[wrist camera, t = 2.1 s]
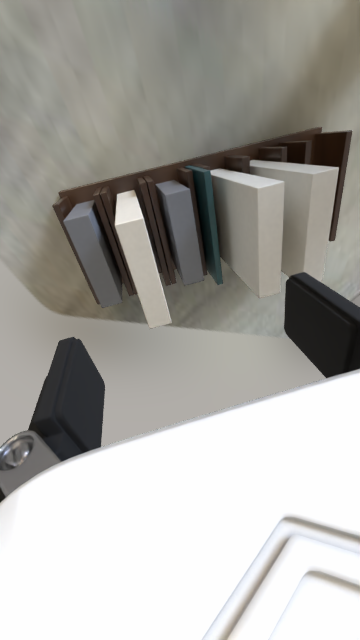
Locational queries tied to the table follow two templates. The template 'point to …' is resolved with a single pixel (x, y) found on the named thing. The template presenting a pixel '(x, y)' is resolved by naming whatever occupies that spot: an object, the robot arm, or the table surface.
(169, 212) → the grey book
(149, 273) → the white book
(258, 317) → the table surface
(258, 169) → the white book
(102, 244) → the grey book
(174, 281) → the book rack
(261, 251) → the white book
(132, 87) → the table surface
